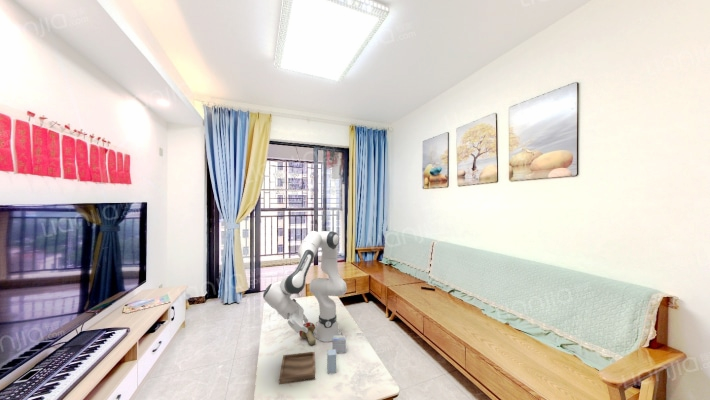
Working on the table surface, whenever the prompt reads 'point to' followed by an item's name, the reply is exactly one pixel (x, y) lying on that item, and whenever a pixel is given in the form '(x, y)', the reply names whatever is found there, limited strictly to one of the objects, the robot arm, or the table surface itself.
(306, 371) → the walnut tray
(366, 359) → the table surface
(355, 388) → the table surface
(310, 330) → the decorative mushroom
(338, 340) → the medicine box
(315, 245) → the robot arm
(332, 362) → the slate block
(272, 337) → the table surface
